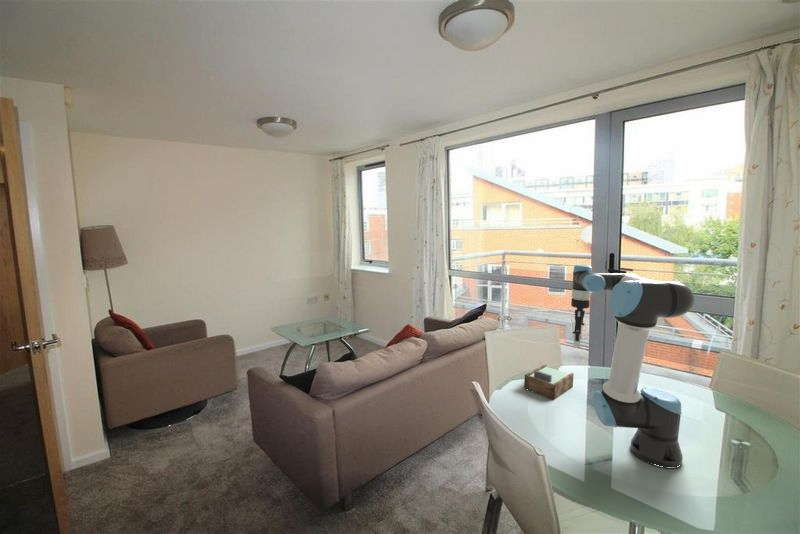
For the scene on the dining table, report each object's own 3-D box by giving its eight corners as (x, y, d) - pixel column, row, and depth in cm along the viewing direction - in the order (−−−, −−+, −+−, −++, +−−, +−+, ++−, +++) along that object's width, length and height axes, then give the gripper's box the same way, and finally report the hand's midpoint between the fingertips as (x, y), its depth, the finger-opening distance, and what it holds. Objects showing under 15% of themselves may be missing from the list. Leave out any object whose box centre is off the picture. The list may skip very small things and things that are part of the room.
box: (553, 400, 167) (554, 385, 166) (524, 388, 179) (524, 374, 178) (572, 387, 180) (573, 373, 179) (544, 377, 192) (544, 364, 191)
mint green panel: (553, 386, 169) (553, 378, 168) (529, 377, 178) (529, 370, 178) (569, 375, 180) (570, 368, 179) (546, 368, 189) (546, 361, 189)
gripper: (588, 305, 153) (585, 353, 156) (591, 294, 174) (587, 336, 177) (569, 303, 157) (566, 350, 160) (573, 292, 178) (571, 334, 181)
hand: (577, 343), depth 168 cm, fingers open, 13 cm apart
